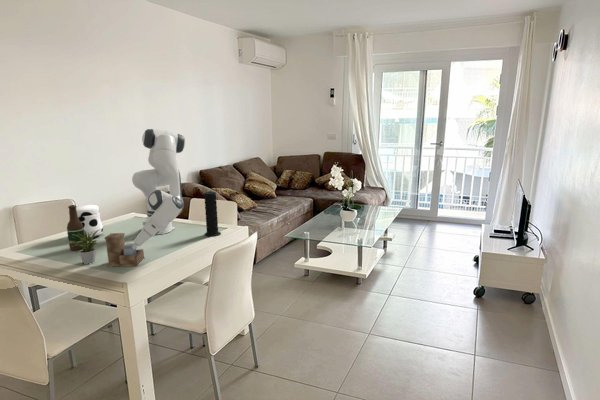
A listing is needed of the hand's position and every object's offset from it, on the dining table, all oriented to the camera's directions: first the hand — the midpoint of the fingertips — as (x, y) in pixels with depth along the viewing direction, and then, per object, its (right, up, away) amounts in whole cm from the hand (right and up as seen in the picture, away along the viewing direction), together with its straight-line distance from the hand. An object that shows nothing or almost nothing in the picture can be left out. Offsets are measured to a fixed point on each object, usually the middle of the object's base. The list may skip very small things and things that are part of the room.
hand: (137, 244), depth 184 cm
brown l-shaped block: (-6, -9, +2) cm, 11 cm away
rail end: (-4, -8, +2) cm, 9 cm away
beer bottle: (-42, -5, +23) cm, 48 cm away
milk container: (-49, -1, +44) cm, 66 cm away
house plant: (-25, -9, +4) cm, 27 cm away
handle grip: (+26, +1, +46) cm, 53 cm away
